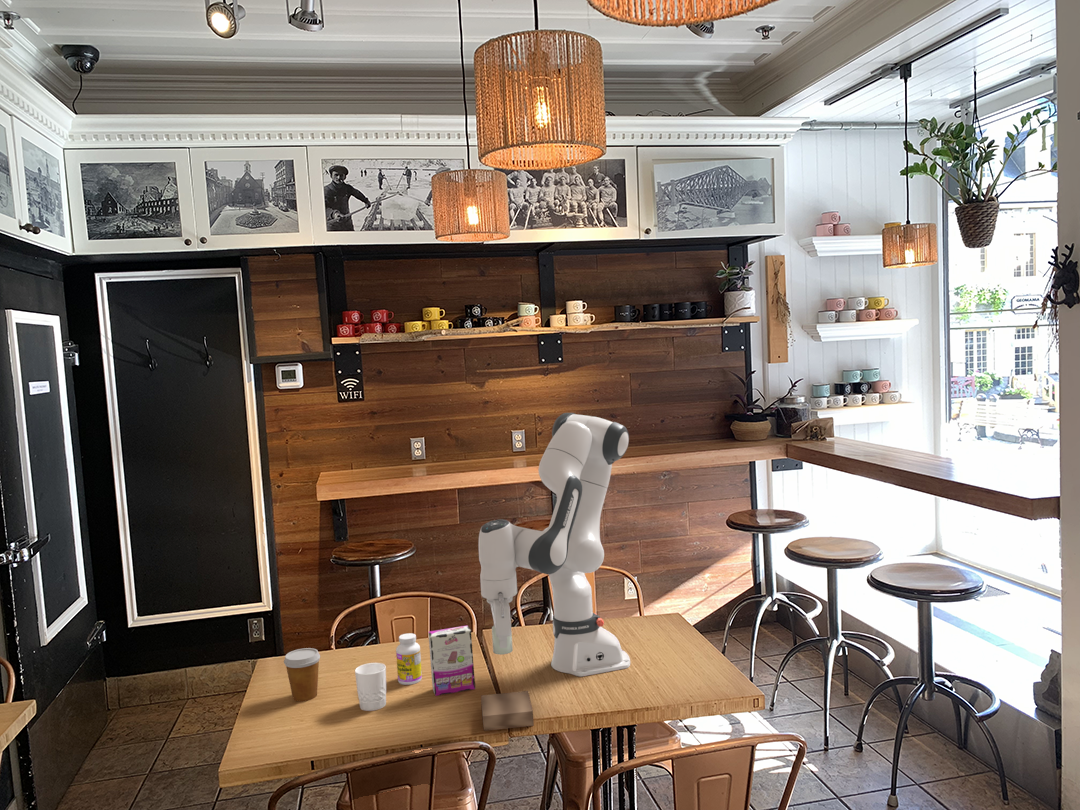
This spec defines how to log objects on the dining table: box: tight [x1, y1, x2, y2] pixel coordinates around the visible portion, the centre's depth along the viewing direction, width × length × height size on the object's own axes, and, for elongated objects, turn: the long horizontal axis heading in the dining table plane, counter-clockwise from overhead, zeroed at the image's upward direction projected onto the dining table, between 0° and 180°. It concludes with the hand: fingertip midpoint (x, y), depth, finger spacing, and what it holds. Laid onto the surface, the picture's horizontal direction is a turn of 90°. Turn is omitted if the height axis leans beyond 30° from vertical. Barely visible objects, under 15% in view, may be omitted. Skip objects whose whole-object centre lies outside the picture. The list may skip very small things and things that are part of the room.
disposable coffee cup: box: [283, 647, 321, 702], centre depth 220 cm, size 10×10×12 cm
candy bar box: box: [427, 625, 476, 697], centre depth 219 cm, size 11×5×16 cm, turn 106°
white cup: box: [354, 662, 387, 712], centre depth 212 cm, size 8×8×10 cm
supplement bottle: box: [395, 632, 423, 686], centre depth 227 cm, size 7×7×13 cm
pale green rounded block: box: [491, 625, 514, 656], centre depth 200 cm, size 5×5×6 cm
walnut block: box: [480, 690, 535, 732], centre depth 201 cm, size 12×12×4 cm
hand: (502, 642), depth 200 cm, fingers closed on pale green rounded block, 5 cm apart
